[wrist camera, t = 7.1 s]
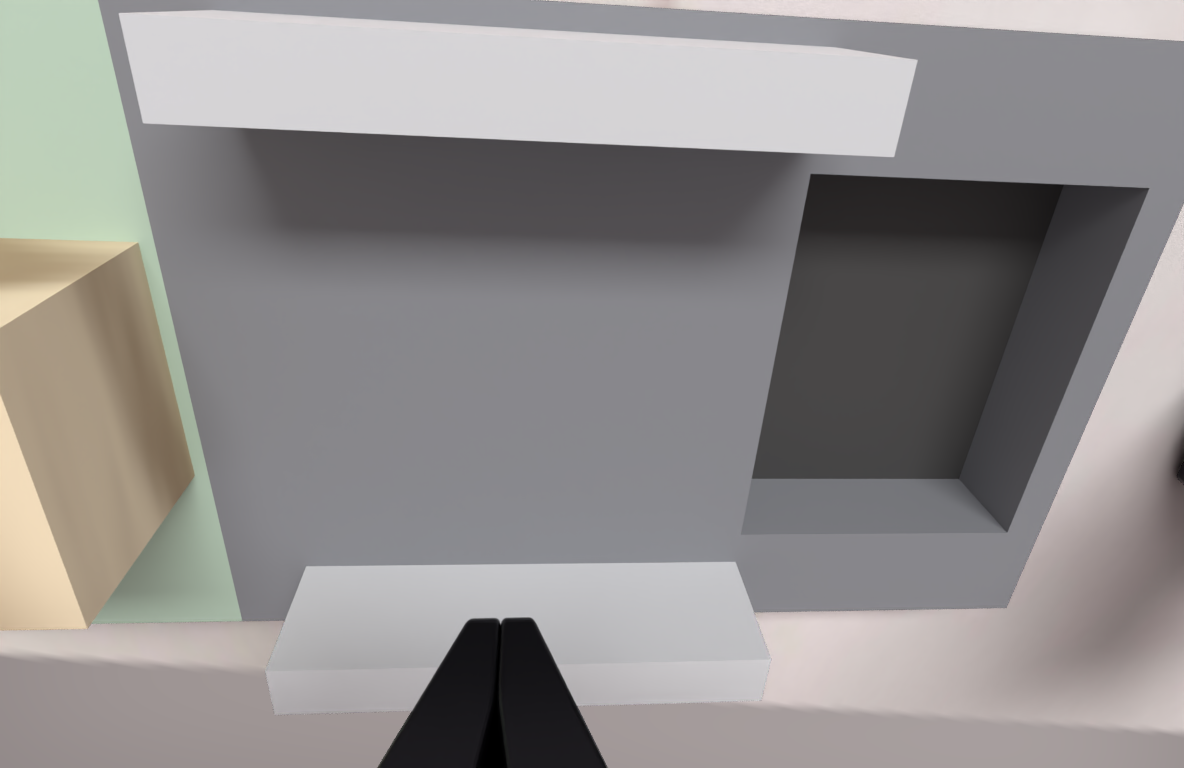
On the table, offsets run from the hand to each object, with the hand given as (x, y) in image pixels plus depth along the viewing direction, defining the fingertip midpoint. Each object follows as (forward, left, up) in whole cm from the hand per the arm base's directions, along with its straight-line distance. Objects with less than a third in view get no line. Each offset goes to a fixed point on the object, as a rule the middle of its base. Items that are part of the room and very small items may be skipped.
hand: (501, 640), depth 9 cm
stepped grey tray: (+1, +1, -12) cm, 12 cm away
